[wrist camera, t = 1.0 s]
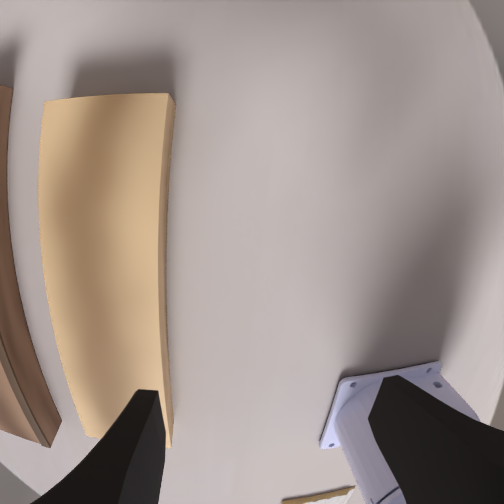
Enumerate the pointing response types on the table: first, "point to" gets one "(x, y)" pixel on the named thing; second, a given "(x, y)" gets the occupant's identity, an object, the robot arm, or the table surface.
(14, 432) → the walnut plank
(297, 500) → the baseboard
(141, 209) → the oak plank
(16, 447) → the table surface
